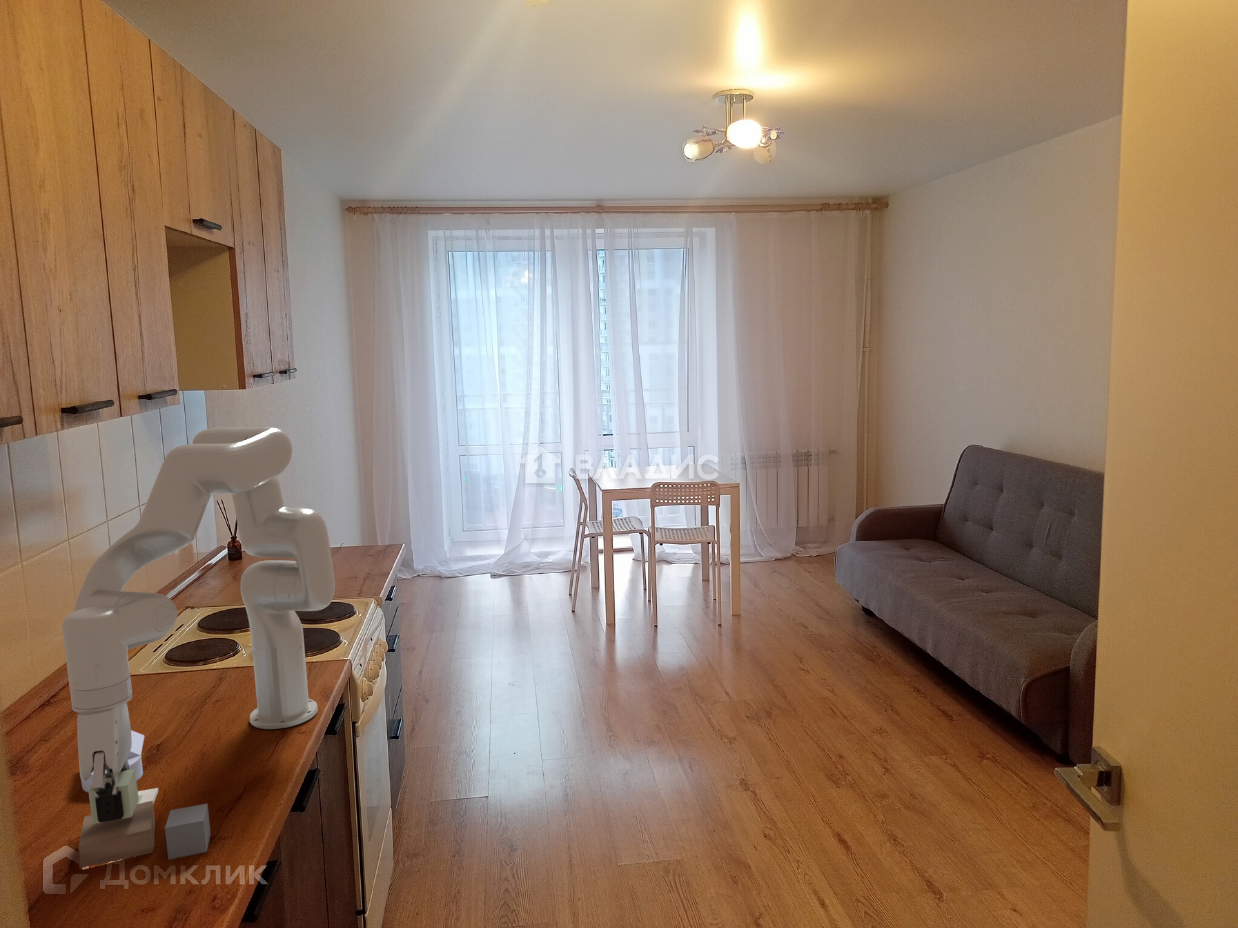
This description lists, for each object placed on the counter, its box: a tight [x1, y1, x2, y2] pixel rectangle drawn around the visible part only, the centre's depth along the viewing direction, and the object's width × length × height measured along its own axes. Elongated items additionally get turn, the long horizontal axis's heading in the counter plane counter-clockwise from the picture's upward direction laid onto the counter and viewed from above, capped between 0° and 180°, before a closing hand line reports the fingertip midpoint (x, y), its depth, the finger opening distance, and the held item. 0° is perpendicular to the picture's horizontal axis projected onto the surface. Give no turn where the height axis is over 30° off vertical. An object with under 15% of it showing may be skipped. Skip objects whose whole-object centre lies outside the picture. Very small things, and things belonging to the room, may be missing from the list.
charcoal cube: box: [164, 803, 212, 861], centre depth 126 cm, size 5×5×5 cm
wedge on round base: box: [80, 729, 145, 793], centre depth 148 cm, size 9×7×13 cm
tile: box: [137, 787, 159, 805], centre depth 138 cm, size 7×7×1 cm
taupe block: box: [78, 801, 156, 869], centre depth 127 cm, size 9×9×4 cm
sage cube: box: [87, 769, 139, 824], centre depth 126 cm, size 5×5×5 cm
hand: (115, 808), depth 126 cm, fingers closed on sage cube, 4 cm apart
